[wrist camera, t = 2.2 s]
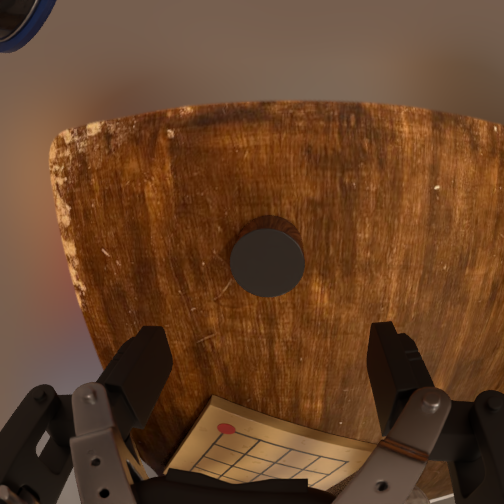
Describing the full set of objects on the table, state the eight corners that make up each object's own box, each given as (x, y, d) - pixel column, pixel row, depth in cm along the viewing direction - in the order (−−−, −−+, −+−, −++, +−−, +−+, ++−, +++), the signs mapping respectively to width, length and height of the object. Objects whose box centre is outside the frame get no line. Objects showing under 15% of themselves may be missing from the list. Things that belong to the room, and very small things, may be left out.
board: (165, 466, 38) (162, 473, 36) (212, 394, 29) (209, 405, 28) (291, 502, 39) (290, 509, 38) (379, 444, 31) (380, 454, 29)
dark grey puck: (227, 259, 24) (218, 278, 21) (254, 203, 22) (248, 215, 19) (284, 286, 24) (283, 308, 21) (314, 233, 22) (318, 249, 19)
